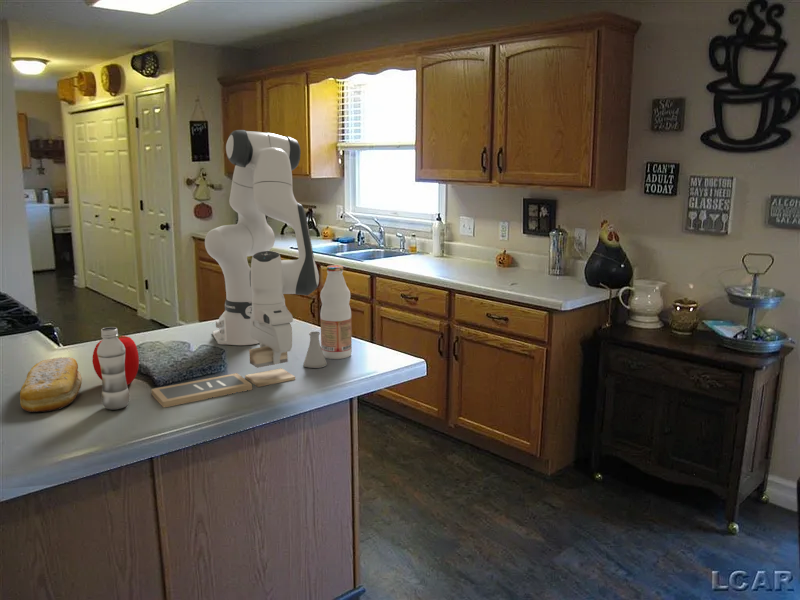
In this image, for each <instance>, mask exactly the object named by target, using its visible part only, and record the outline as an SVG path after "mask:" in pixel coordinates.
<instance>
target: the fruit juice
mask: <svg viewBox="0 0 800 600" xmlns="http://www.w3.org/2000/svg"><path fill="white" fill-rule="evenodd" d="M343 272H344V266H343V265H340V264H339V265H337V264H336V265H334V264H333V265H328V266H326V273H327V275H326V279H325V282H324V284H323V287H322V289H321V291H320V297H319V298H320V300H321V303H322V304H321V307H320V346H321V349H322V352H323V354H324V357H325V359H329V360H341V359H343V360H344V359H348V358H349V357H351V355H352V344H353V343H352V342H353V340H352V309H351V306H350V300H351V291H350V289H349V287H348V286H347V283H346V280H345V277H344V275H343Z"/></svg>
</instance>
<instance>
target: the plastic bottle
mask: <svg viewBox="0 0 800 600" xmlns="http://www.w3.org/2000/svg"><path fill="white" fill-rule="evenodd" d="M100 332H101V335H100V337H101V340H102V341H101V340H100V341H101V343H100V344H99V346H98V349H97V355H98V359H99V363H100V367H101V372H102V380H101V382H102V383H101V384H102V385H101V398H100V399H101V403H102V406H103V407H104V408H105V409H106V410H111V411H112V410H120V409H123V408H126V407H127V406H128V405H129V403H130V400H131V399H130V398H131V395H130V391H129V388H128V385H127V382H126V377H125V347H124V344H123V343H122V342H121V341H120V340H119V339H118V338H117V336H119V333H118V332H119V331H118V327H116V326H109V327H108V326H107V327H103V328H101V329H100Z"/></svg>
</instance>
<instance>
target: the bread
mask: <svg viewBox="0 0 800 600" xmlns="http://www.w3.org/2000/svg"><path fill="white" fill-rule="evenodd" d="M82 380H83V378H82V375H81V373H80V372H79V363H78V362H77V360H76V359H75V358H73V357H71V356H70V357H67V356H65V357H61V356H60V357H53V358H48V359H44V360H43V359H42V360H40V361H39V362H37V363H36V364H34V365H33V366H32V367H31V368H30V370H29V371H28V372H27V374H26V378H25V381H24V382H23V384H22V386H21V388H20V392H19V400H20V401H19V403H20V406H21V409H23V410H24V411H27V412H28V413H29V412H30V413H45V412H46V413H48V412H53V411H57V410H60V409H63V408H65V407H67V406H69V405H70V404H71V403H73V402H74V401H75V399H76V397H77V396H78V394H79V392H80V389H81V388H82Z"/></svg>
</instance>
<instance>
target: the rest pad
mask: <svg viewBox="0 0 800 600" xmlns="http://www.w3.org/2000/svg"><path fill="white" fill-rule="evenodd" d="M244 379H246V380H247V381H248V382H250V383H251V384H252V385H254V384H255V385H254V386H256V387H257V388H260V387H264V386H270V385H275V384H279V383H285V382H289V381H294V380H295V381H296V376H295V375H294V374H292V373H290V372H289V371H287V370H286V369H284V368H281V367H280V368H277V369H271V370H266V371H260V372H254V373H249V374H245V375H244Z"/></svg>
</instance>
